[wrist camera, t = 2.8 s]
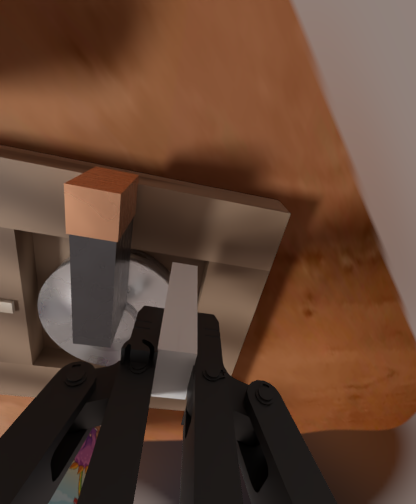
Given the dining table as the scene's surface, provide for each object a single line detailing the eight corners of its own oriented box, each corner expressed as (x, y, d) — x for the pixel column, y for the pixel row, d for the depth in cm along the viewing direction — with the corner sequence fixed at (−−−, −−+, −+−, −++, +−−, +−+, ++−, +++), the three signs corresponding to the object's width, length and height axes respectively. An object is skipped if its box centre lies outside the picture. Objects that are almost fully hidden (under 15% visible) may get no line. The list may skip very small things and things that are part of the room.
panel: (-41, 136, 17) (-89, 141, 14) (278, 200, 20) (292, 215, 17) (6, 365, 27) (-18, 396, 24) (215, 387, 30) (217, 416, 27)
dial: (173, 355, 26) (166, 426, 20) (54, 341, 24) (9, 413, 19) (209, 179, 18) (216, 211, 12) (39, 145, 17) (-46, 162, 11)
